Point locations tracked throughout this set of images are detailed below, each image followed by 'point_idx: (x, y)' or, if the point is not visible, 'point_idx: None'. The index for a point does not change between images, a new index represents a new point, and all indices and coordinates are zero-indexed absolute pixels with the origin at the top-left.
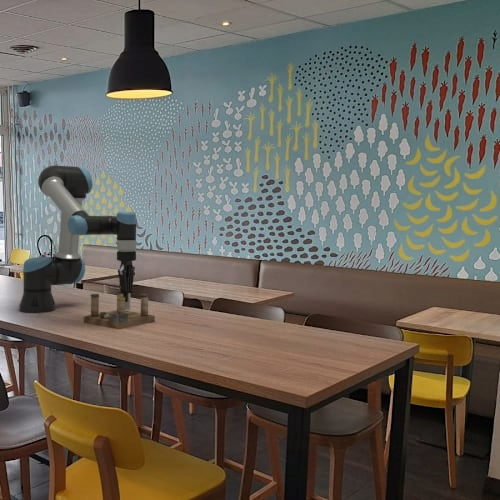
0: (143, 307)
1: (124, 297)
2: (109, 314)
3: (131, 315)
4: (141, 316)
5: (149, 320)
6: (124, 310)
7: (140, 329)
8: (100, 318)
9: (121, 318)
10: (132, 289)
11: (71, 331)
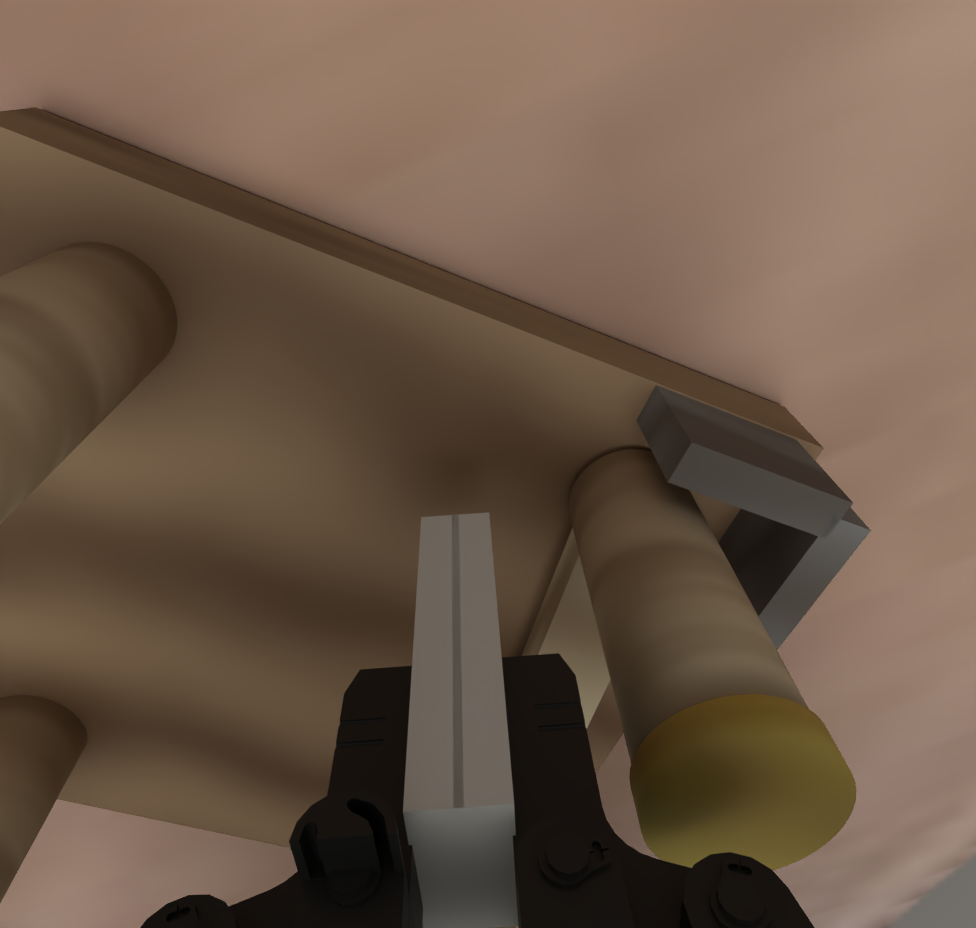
0: (103, 364)
1: (754, 751)
2: None
3: (213, 505)
4: (202, 329)
5: (159, 169)
6: (677, 534)
7: (696, 109)
8: None
9: (796, 458)
10: (179, 924)
11: (913, 758)
